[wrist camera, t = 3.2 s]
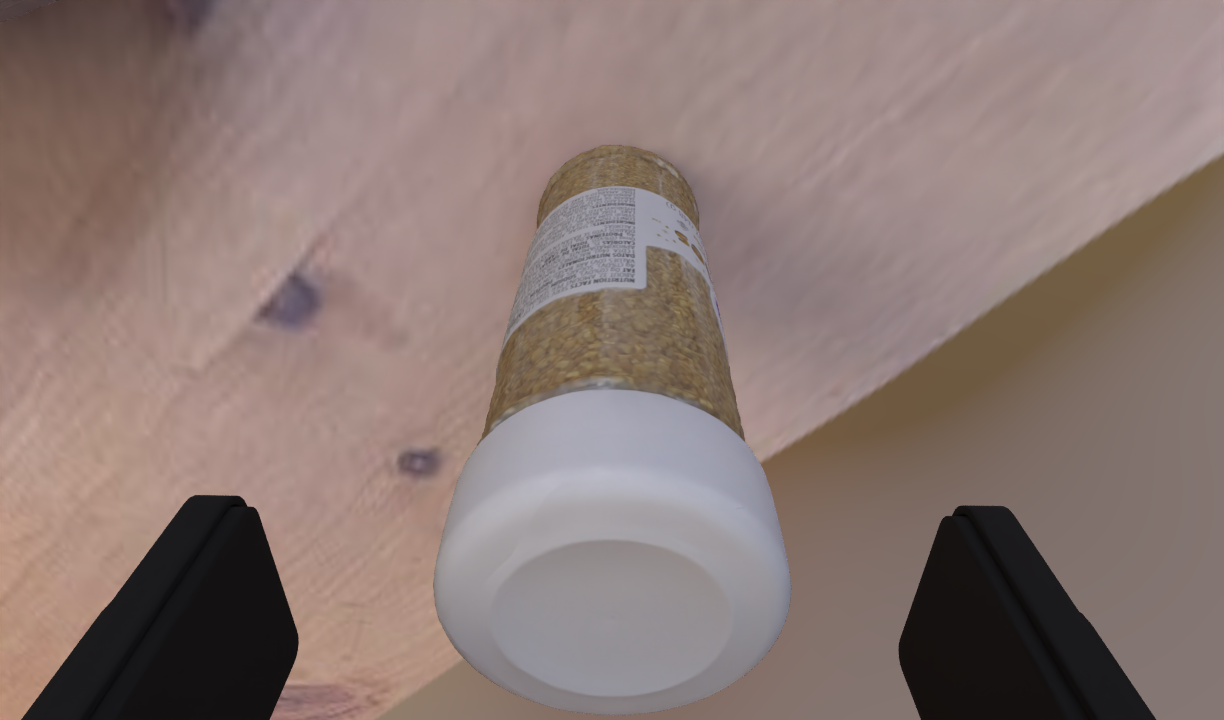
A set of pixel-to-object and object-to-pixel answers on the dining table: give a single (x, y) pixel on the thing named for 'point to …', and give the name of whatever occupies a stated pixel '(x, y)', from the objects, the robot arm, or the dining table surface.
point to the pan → (19, 7)
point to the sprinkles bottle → (613, 467)
